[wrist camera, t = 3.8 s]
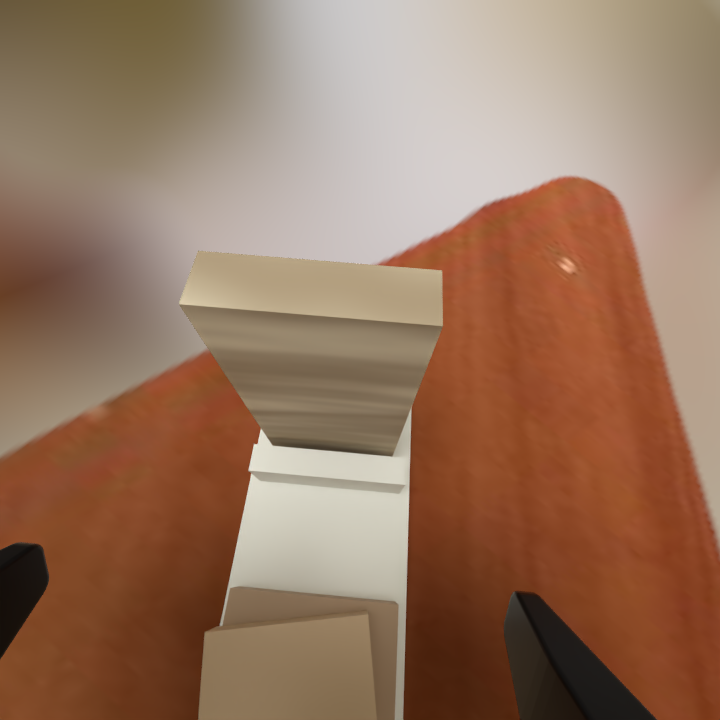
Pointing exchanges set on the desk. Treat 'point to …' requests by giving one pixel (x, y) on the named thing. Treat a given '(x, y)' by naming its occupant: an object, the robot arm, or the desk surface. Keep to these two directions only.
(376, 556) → the offcut rack
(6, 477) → the desk surface
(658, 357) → the desk surface
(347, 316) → the grey brown wooden board
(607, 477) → the desk surface
